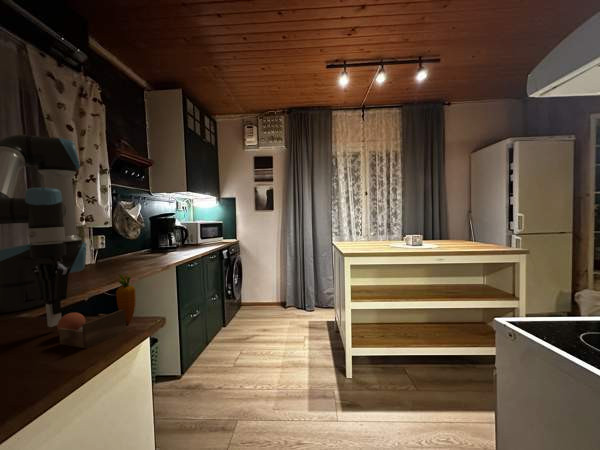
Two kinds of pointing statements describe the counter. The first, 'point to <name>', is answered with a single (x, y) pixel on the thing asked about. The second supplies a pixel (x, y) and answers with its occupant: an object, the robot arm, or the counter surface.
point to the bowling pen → (95, 330)
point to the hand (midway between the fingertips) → (55, 324)
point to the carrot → (126, 298)
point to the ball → (71, 321)
